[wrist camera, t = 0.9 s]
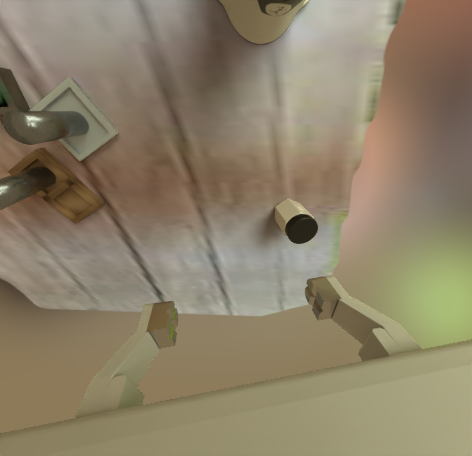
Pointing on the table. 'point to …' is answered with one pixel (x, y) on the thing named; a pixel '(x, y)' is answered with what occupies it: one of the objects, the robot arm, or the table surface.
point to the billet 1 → (44, 125)
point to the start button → (2, 99)
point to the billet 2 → (24, 185)
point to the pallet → (61, 187)
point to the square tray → (75, 99)
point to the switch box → (11, 93)
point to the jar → (295, 221)
